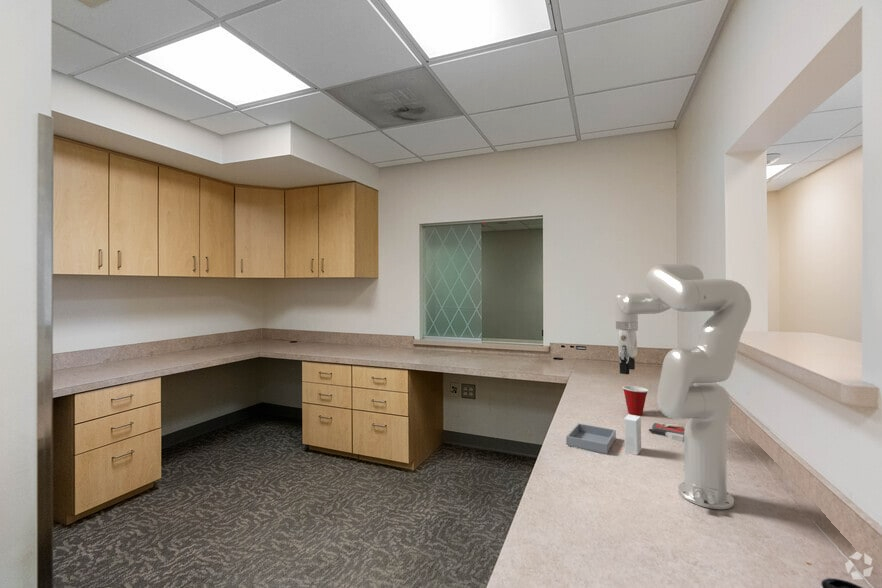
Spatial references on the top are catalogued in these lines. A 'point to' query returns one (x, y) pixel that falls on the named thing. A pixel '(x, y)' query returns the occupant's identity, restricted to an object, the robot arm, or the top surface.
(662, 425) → the walkie-talkie
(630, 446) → the skincare box
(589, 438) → the tray
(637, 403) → the plastic cup
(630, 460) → the top surface
